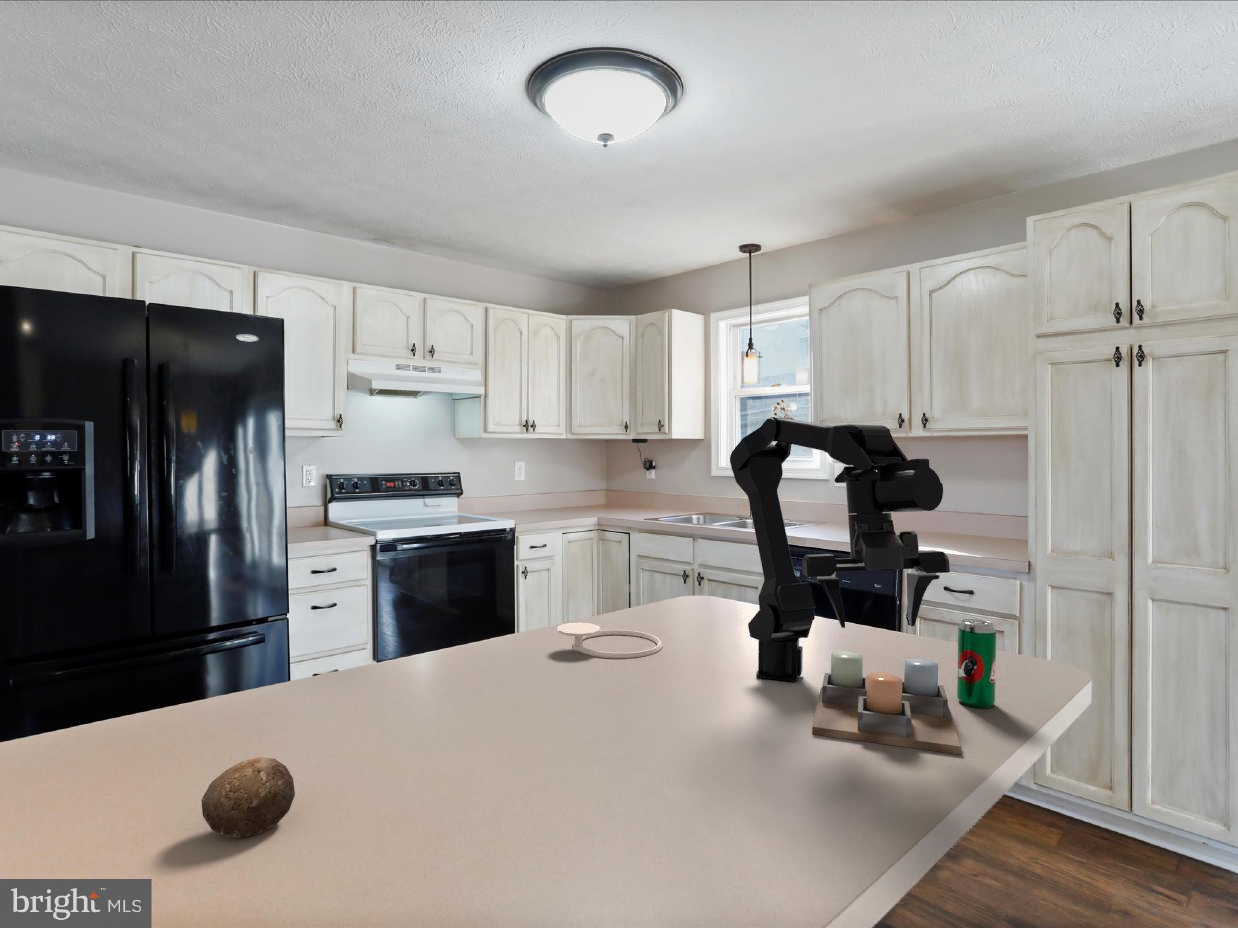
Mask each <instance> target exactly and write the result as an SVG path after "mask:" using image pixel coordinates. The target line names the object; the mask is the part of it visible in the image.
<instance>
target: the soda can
mask: <svg viewBox="0 0 1238 928" xmlns="http://www.w3.org/2000/svg"><path fill="white" fill-rule="evenodd" d="M994 626H995V624H994V623H993V622H991V621H988V620H983V619H977V618H976V619H975V618H964V619H961V621H960V624H959V626H958V627H957V667H956V669H957V671H956V675H957V676H956V698H957V699H958V700H959V702H960V703H961V704H963V705H965V706H968V707H970V708H971V707H972V708H978V709H988V708H991V707H992V706H994V705H995V704H996V681H997V680H996V679H997V677H996V674H997V630H996V629H995V627H994Z"/></svg>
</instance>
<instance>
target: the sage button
mask: <svg viewBox="0 0 1238 928" xmlns="http://www.w3.org/2000/svg"><path fill="white" fill-rule="evenodd" d="M863 660H864V658H863V655H861V654H859V653H856V652H851V651H843V650H842V651H841V650H840V651H834V652H833V651H832V653H831V654H830V673H831V683H832V684H834V685H836V686H841V687H850V688H857V687H861V686H862V677H864V676H863V672H864V671H863V670H864V669H863V667H864V666H863V664H864V663H863Z"/></svg>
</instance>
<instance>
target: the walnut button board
mask: <svg viewBox="0 0 1238 928" xmlns="http://www.w3.org/2000/svg"><path fill="white" fill-rule="evenodd" d="M866 691H867V676H862V686H861V687H857V688H850V687H841V686H836V685H834V684H832V683H831V672H825V673H824V676H823V681H822V687H820V690H819V695H818V698H817V703H816V708H815V713H814V716H813V717H814V718H813V723H812V725H811V726H812V727H811V730H812V731H811V735H814V736H815V735H816V736H824V737H830V738H831V737H832V738H837V739H838V738H839V739H844V740H845V739H846V740H852V741H860V742H868V743H874V744H880V745H881V744H882V745H889V746H895V747H896V746H897V747H904V748H912V749H918V750H924V751H925V750H926V751H934V752H939V753H940V752H941V753H946V754H947V753H948V754H955V755H961V752H962V750H961V747H962V746H961V743H960V740H959V736H958V732H957V729H956V726H955V722H954V719H953V716H952V712H951V709H950V706H949V703H948V701H949V699H948V696H947V693H946V689H945V686H944V685H942V684H938V694H937V695H935V696H920V695H913V694H910V693H907V692H906V691H905V690H904V680H902V712H901V713H898V714H884V713H877V712H873V711H871V710H869V709H868V708H867V707H866Z"/></svg>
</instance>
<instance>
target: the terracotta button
mask: <svg viewBox="0 0 1238 928" xmlns="http://www.w3.org/2000/svg"><path fill="white" fill-rule="evenodd" d="M866 677H867V691H866V707H867V708H868V709H869V710H871V711H873V712H877V713H884V714H898V713H901V712H902V681H903V679H902V677H900V676H898V675H895V674H891V673H886V672H885V673H884V672H872V673H869V674H866Z"/></svg>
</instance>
